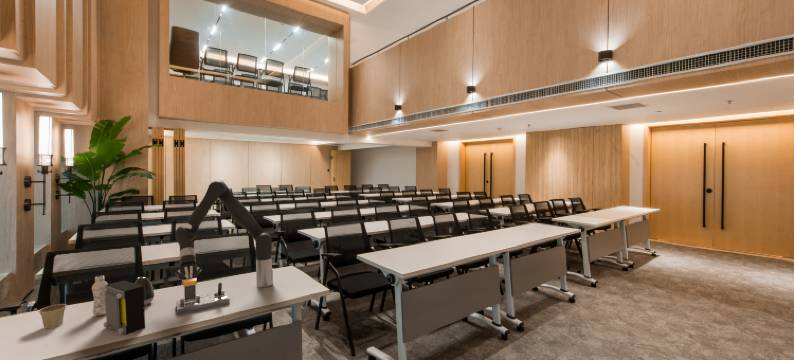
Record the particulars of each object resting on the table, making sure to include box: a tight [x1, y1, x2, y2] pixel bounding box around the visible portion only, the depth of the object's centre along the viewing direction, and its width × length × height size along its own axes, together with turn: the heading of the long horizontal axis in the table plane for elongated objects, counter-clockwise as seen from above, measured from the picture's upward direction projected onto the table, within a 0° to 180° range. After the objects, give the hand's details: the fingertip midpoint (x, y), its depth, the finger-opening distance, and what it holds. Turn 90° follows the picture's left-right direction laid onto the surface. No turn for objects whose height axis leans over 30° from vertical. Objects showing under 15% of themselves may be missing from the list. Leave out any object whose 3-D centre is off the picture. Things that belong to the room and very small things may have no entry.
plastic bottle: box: [91, 275, 109, 317], centre depth 172 cm, size 6×7×20 cm
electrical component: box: [102, 280, 146, 336], centre depth 158 cm, size 18×10×20 cm, turn 62°
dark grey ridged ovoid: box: [134, 276, 155, 307], centre depth 185 cm, size 10×10×15 cm
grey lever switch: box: [175, 282, 231, 316], centre depth 184 cm, size 24×14×12 cm, turn 125°
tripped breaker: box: [182, 277, 198, 302], centre depth 179 cm, size 6×3×13 cm, turn 125°
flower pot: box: [38, 303, 67, 329], centre depth 161 cm, size 9×9×9 cm
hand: (189, 285), depth 179 cm, fingers closed
